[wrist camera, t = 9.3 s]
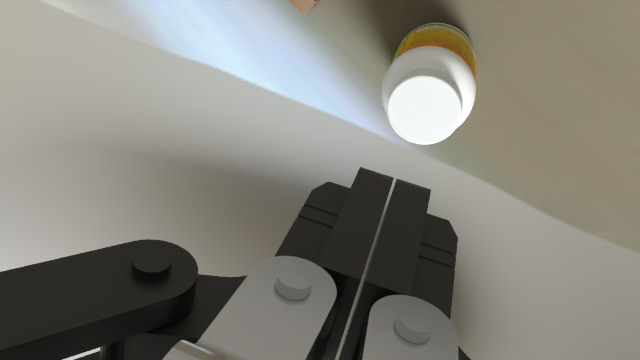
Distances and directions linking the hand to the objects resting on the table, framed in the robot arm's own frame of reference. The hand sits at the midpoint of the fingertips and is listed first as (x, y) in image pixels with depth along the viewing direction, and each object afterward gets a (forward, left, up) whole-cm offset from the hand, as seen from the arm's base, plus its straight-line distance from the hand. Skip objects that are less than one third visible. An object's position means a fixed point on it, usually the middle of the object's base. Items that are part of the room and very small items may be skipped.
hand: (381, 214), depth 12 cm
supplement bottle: (-1, +5, -29) cm, 30 cm away
